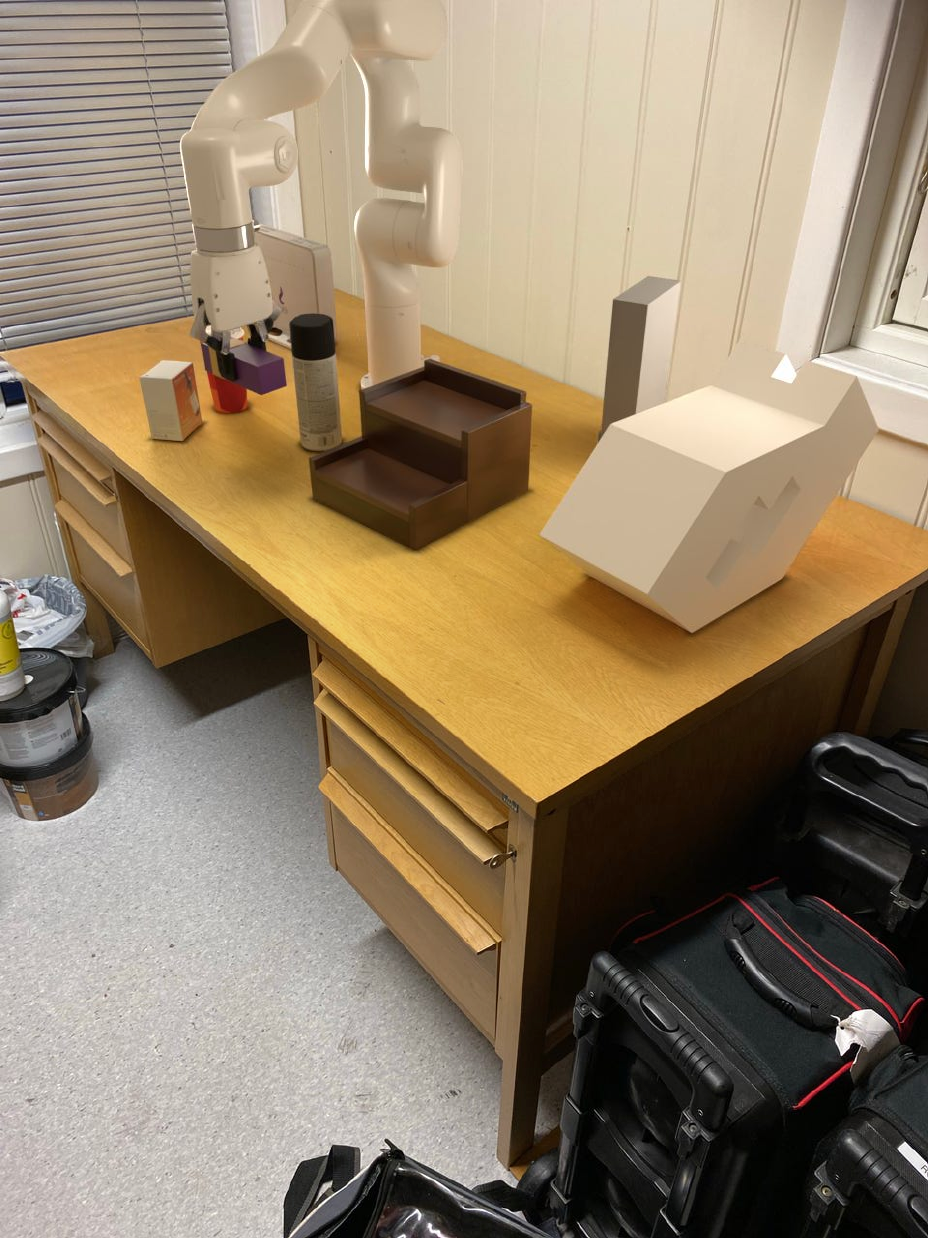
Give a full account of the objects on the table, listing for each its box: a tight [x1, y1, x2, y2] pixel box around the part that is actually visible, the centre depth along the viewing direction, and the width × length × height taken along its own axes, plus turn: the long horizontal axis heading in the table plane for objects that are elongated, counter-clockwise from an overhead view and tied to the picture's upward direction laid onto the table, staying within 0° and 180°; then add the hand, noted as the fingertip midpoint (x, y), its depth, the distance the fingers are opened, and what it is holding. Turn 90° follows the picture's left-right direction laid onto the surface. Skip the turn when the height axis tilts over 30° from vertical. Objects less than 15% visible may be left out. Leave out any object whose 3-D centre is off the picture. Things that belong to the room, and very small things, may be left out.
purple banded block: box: [200, 337, 288, 396], centre depth 133 cm, size 4×13×4 cm, turn 47°
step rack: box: [308, 359, 533, 551], centre depth 135 cm, size 23×21×15 cm
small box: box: [139, 359, 203, 442], centre depth 154 cm, size 8×6×10 cm
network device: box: [255, 222, 338, 350], centre depth 189 cm, size 26×9×20 cm, turn 43°
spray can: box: [289, 313, 343, 452], centre depth 148 cm, size 7×7×20 cm
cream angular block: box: [539, 339, 880, 634], centre depth 116 cm, size 26×16×35 cm
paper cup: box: [199, 325, 249, 414], centre depth 162 cm, size 8×8×14 cm
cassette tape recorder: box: [596, 275, 682, 445], centre depth 145 cm, size 14×6×25 cm, turn 150°
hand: (244, 372), depth 133 cm, fingers closed on purple banded block, 4 cm apart
